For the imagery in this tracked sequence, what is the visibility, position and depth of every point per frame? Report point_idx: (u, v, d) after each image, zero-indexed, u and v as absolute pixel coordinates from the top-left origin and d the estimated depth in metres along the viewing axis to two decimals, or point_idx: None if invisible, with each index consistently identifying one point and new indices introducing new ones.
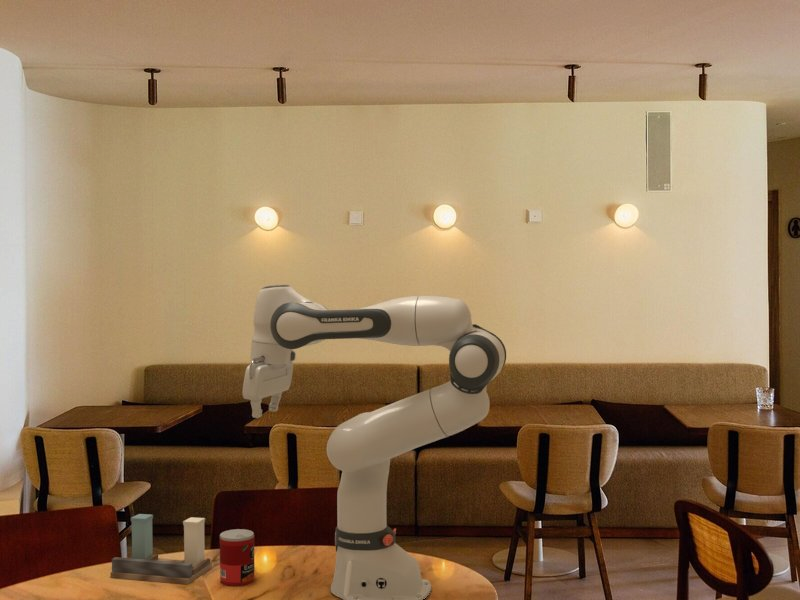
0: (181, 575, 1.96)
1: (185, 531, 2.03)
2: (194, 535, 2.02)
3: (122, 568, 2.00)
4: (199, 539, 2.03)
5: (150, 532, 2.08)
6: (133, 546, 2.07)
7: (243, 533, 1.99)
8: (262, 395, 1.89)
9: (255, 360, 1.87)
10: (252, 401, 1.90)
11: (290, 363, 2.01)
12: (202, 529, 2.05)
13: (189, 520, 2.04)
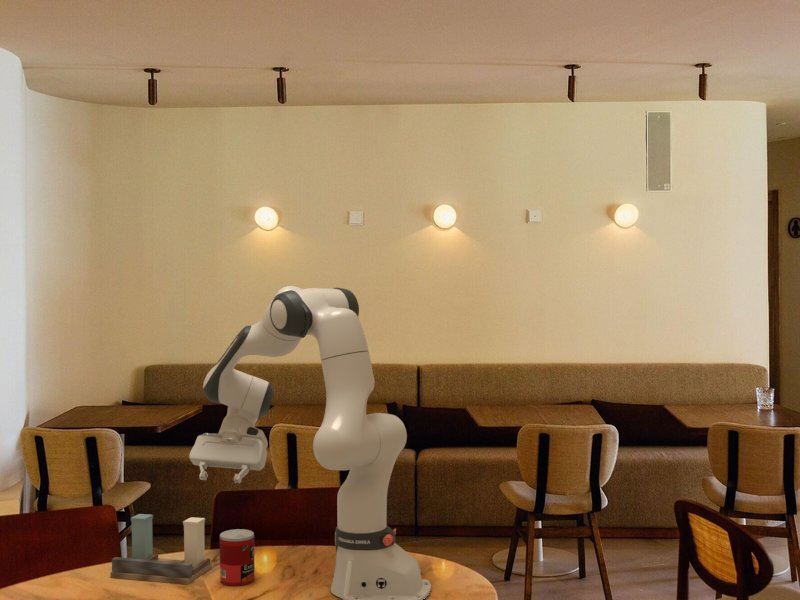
0: (181, 575, 1.96)
1: (185, 531, 2.03)
2: (194, 535, 2.02)
3: (122, 568, 2.00)
4: (199, 539, 2.03)
5: (150, 532, 2.08)
6: (133, 546, 2.07)
7: (243, 533, 1.99)
8: (199, 456, 2.22)
9: (203, 434, 2.29)
10: None
11: (253, 438, 2.23)
12: (202, 529, 2.05)
13: (189, 520, 2.04)
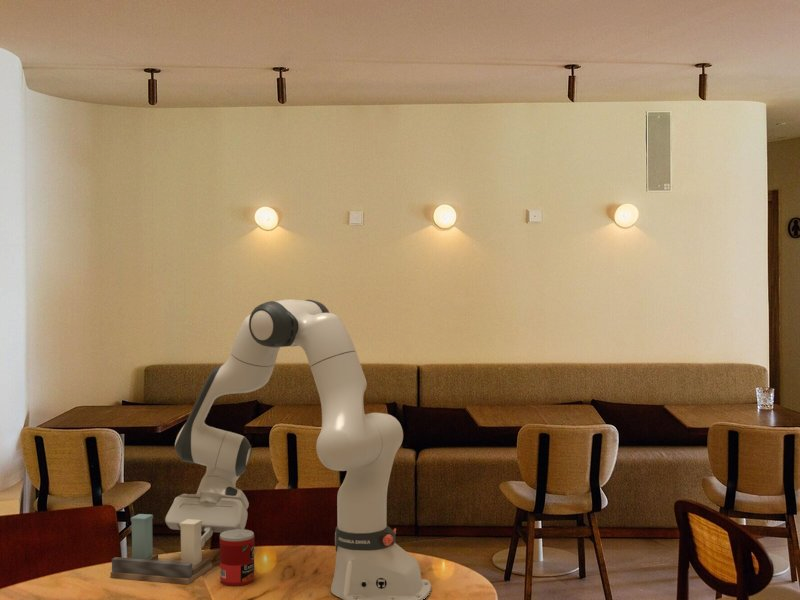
0: (181, 575, 1.96)
1: (182, 533, 2.02)
2: (191, 537, 2.01)
3: (122, 568, 2.00)
4: (196, 541, 2.02)
5: (150, 532, 2.08)
6: (133, 546, 2.07)
7: (243, 533, 1.99)
8: (175, 520, 2.09)
9: (181, 495, 2.16)
10: None
11: (231, 499, 2.10)
12: (199, 531, 2.03)
13: (186, 522, 2.02)
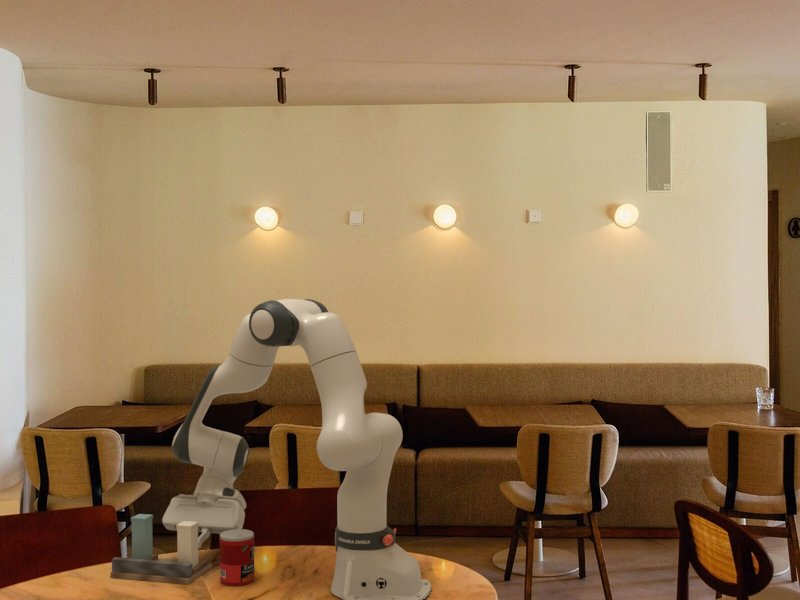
0: (181, 575, 1.96)
1: (178, 535, 2.00)
2: (188, 539, 1.99)
3: (122, 568, 2.00)
4: (193, 543, 2.00)
5: (150, 532, 2.08)
6: (133, 546, 2.07)
7: (243, 533, 1.99)
8: (172, 520, 2.08)
9: (178, 495, 2.15)
10: None
11: (229, 500, 2.08)
12: (196, 533, 2.02)
13: (182, 524, 2.01)
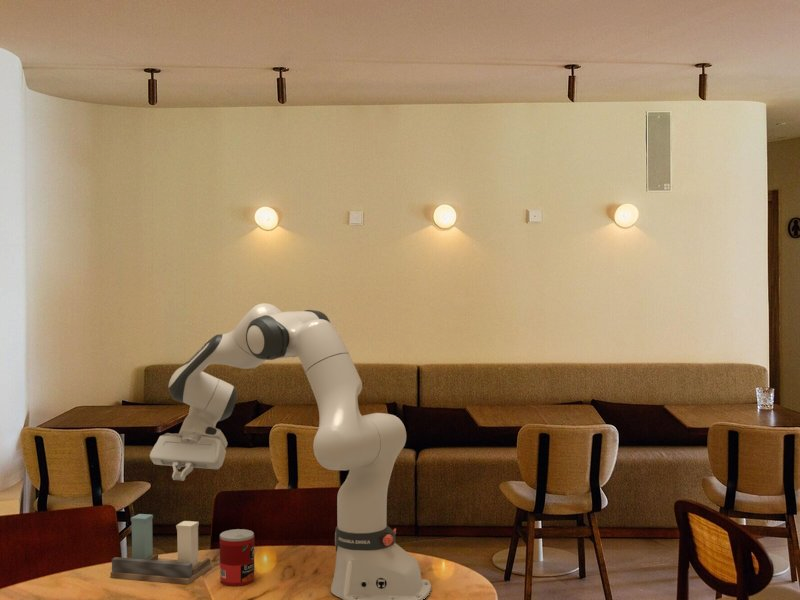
0: (181, 575, 1.96)
1: (178, 535, 2.00)
2: (188, 539, 1.99)
3: (122, 568, 2.00)
4: (193, 543, 2.00)
5: (150, 532, 2.08)
6: (133, 546, 2.07)
7: (243, 533, 1.99)
8: (159, 455, 2.27)
9: (165, 434, 2.33)
10: None
11: (211, 438, 2.27)
12: (196, 533, 2.02)
13: (182, 524, 2.01)
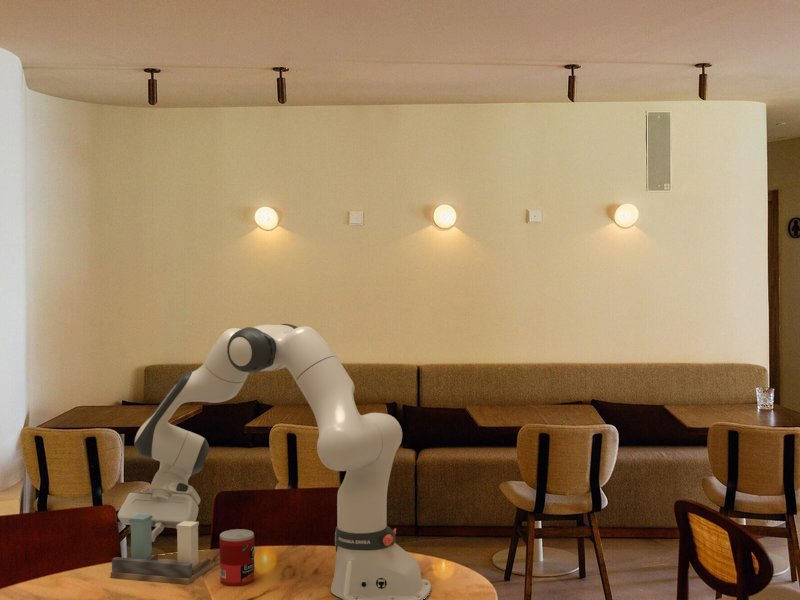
0: (181, 575, 1.96)
1: (178, 535, 2.00)
2: (188, 539, 1.99)
3: (122, 568, 2.00)
4: (193, 543, 2.00)
5: (149, 532, 2.08)
6: (132, 547, 2.06)
7: (243, 533, 1.99)
8: (127, 515, 2.14)
9: (134, 491, 2.21)
10: None
11: (182, 495, 2.14)
12: (196, 533, 2.02)
13: (182, 524, 2.01)
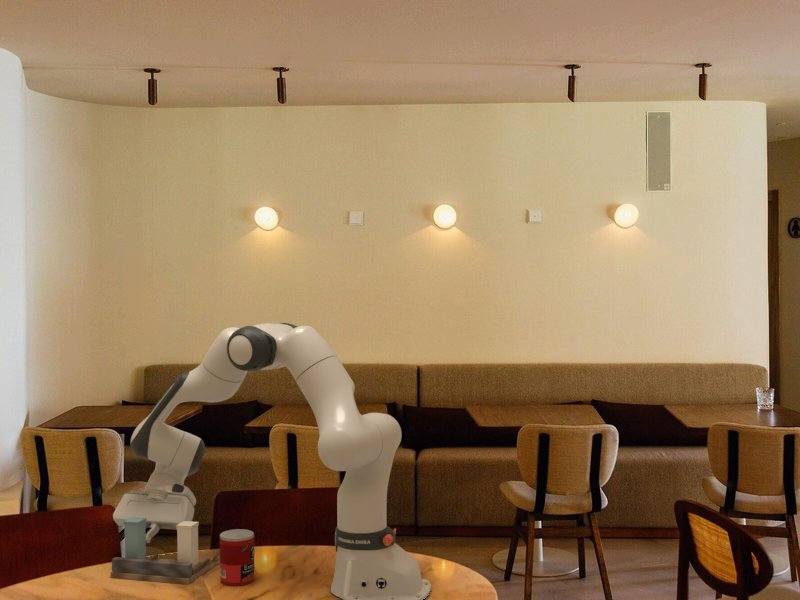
0: (181, 575, 1.96)
1: (178, 535, 2.00)
2: (188, 539, 1.99)
3: (122, 568, 2.00)
4: (193, 543, 2.00)
5: (143, 536, 2.05)
6: (126, 550, 2.04)
7: (243, 533, 1.99)
8: (123, 516, 2.12)
9: (130, 491, 2.19)
10: None
11: (178, 496, 2.12)
12: (196, 533, 2.02)
13: (182, 524, 2.01)
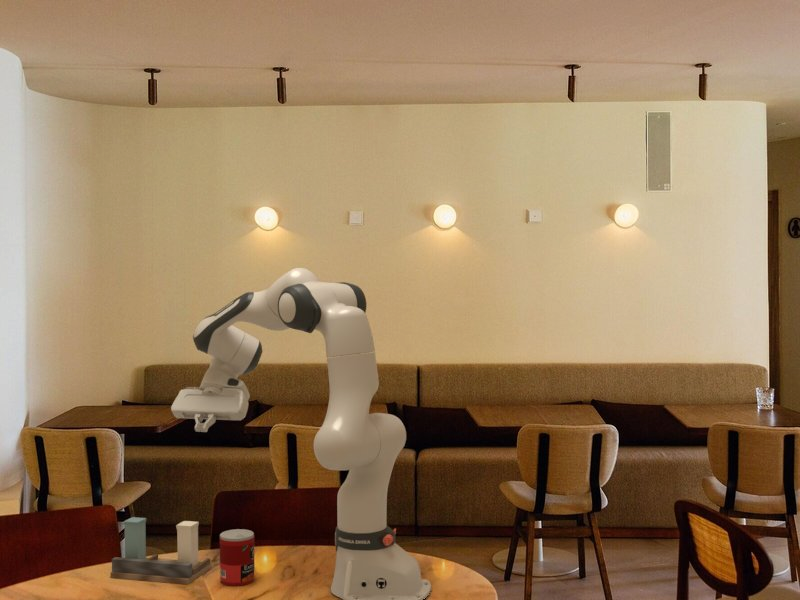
0: (181, 575, 1.96)
1: (178, 535, 2.00)
2: (188, 539, 1.99)
3: (122, 568, 2.00)
4: (193, 543, 2.00)
5: (143, 536, 2.05)
6: (126, 550, 2.04)
7: (243, 533, 1.99)
8: (181, 408, 2.22)
9: (186, 388, 2.29)
10: None
11: (233, 389, 2.23)
12: (196, 533, 2.02)
13: (182, 524, 2.01)
